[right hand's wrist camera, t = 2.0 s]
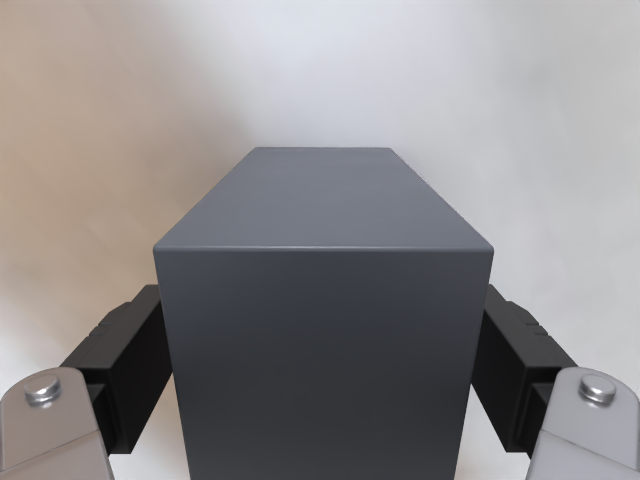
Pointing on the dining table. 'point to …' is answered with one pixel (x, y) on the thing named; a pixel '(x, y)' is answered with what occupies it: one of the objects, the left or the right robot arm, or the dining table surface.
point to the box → (322, 319)
